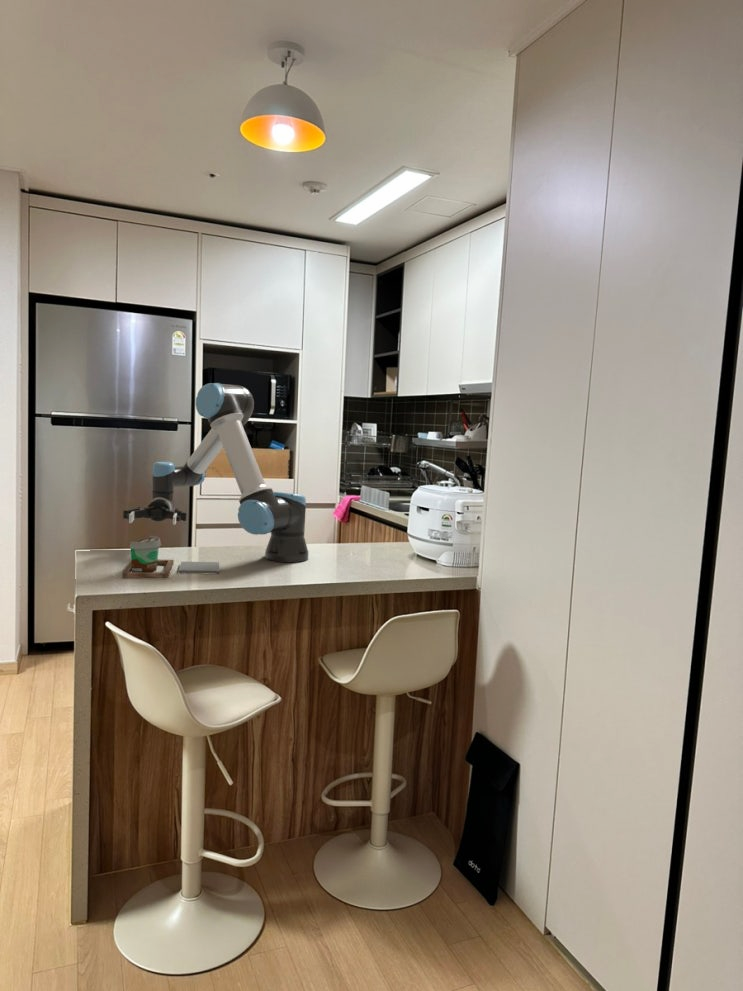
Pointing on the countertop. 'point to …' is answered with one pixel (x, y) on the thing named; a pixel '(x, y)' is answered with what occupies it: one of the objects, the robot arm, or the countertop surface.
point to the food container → (145, 554)
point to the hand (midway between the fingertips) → (152, 519)
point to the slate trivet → (199, 567)
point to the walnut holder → (165, 574)
